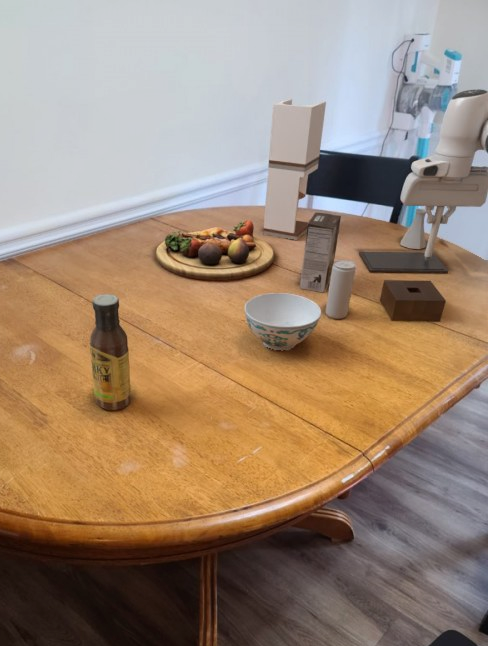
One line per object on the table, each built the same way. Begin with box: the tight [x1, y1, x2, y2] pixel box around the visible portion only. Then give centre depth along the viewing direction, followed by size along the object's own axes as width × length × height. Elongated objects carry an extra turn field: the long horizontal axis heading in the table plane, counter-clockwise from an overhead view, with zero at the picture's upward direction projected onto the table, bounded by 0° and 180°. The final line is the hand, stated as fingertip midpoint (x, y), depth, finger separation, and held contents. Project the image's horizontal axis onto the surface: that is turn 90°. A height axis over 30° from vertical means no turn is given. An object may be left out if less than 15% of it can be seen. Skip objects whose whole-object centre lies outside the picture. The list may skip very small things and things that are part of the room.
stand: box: [379, 279, 447, 323], centre depth 127 cm, size 11×11×5 cm
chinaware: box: [244, 292, 322, 352], centre depth 114 cm, size 15×15×8 cm
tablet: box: [358, 251, 449, 275], centre depth 150 cm, size 20×13×1 cm, turn 88°
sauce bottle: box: [89, 293, 132, 411], centre depth 93 cm, size 6×6×20 cm
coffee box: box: [299, 212, 342, 293], centre depth 135 cm, size 9×6×16 cm
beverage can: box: [325, 259, 357, 320], centre depth 123 cm, size 5×5×12 cm
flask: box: [400, 208, 427, 250], centre depth 159 cm, size 7×7×10 cm
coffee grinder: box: [262, 98, 327, 241], centre depth 161 cm, size 11×11×35 cm
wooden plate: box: [155, 219, 275, 281], centre depth 151 cm, size 32×32×8 cm
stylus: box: [424, 206, 446, 260], centre depth 146 cm, size 2×2×14 cm
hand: (436, 223), depth 144 cm, fingers closed on stylus, 2 cm apart
